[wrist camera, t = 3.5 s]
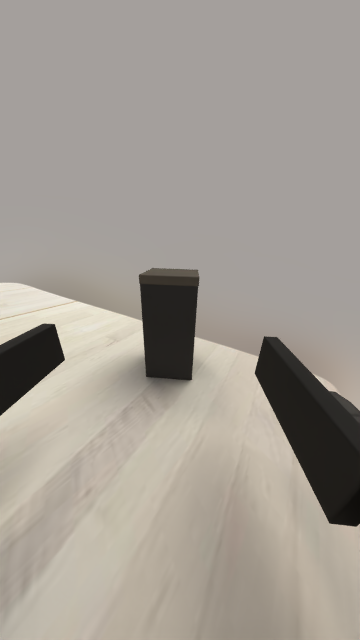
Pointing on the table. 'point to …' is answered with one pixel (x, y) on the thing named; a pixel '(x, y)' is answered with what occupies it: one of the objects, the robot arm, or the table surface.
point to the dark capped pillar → (169, 321)
